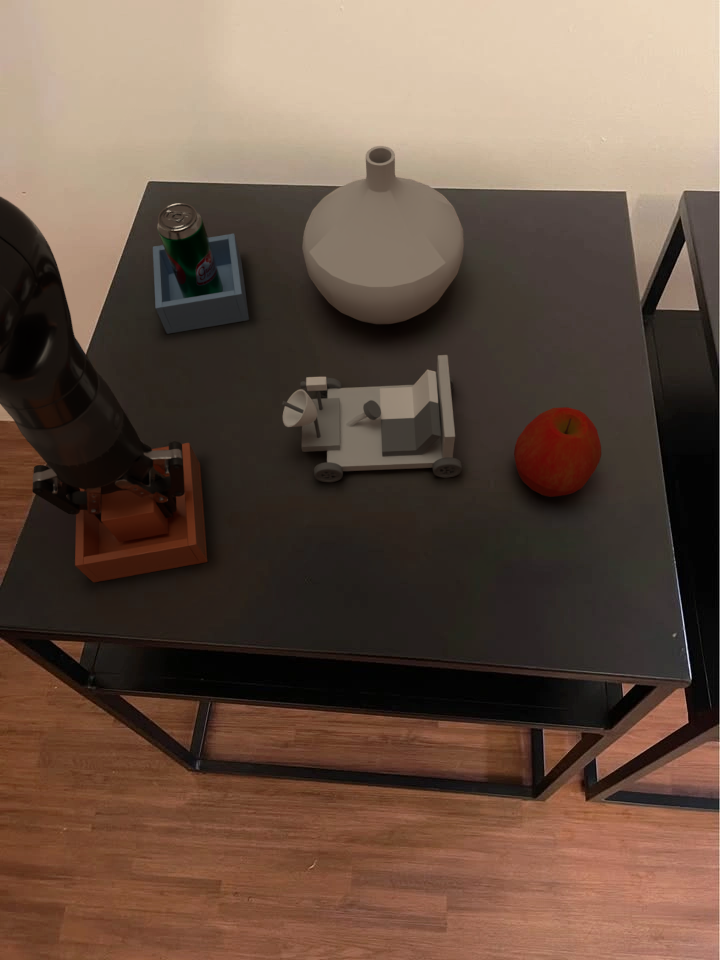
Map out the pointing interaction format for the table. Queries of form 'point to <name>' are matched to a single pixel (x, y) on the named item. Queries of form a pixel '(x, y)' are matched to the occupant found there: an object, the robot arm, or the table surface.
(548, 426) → the apple
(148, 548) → the terracotta bin
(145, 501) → the block
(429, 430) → the toy car
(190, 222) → the soda can
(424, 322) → the table surface
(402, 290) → the vase
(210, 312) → the blue bin
